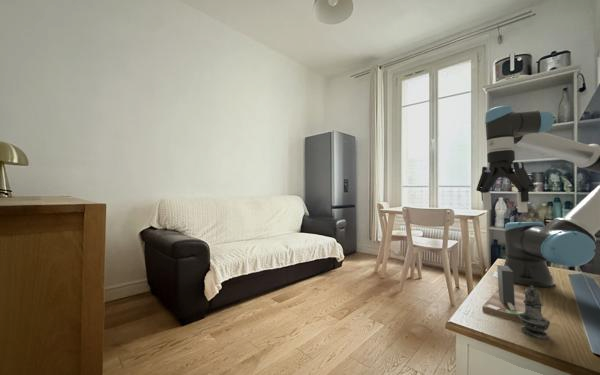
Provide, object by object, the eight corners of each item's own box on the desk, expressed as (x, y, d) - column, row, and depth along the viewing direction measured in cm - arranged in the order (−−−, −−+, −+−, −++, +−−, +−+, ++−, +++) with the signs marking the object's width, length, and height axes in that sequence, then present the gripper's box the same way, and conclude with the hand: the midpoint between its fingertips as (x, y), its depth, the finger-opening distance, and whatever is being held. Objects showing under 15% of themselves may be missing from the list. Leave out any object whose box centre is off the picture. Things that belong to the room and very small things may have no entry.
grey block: (498, 296, 79) (496, 264, 79) (509, 298, 78) (507, 265, 78) (506, 310, 70) (504, 274, 70) (519, 312, 69) (517, 275, 69)
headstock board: (498, 292, 86) (498, 288, 86) (538, 301, 79) (537, 296, 79) (482, 311, 74) (482, 306, 74) (527, 324, 66) (527, 318, 66)
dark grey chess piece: (553, 334, 61) (550, 285, 61) (548, 342, 58) (545, 291, 58) (522, 324, 66) (520, 279, 66) (515, 331, 63) (513, 284, 63)
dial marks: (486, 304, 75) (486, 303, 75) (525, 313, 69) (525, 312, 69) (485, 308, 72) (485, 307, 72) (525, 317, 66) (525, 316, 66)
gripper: (464, 156, 99) (466, 209, 99) (525, 143, 75) (529, 213, 74) (481, 156, 100) (484, 208, 99) (548, 143, 75) (552, 213, 75)
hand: (503, 211), depth 87 cm, fingers open, 13 cm apart
